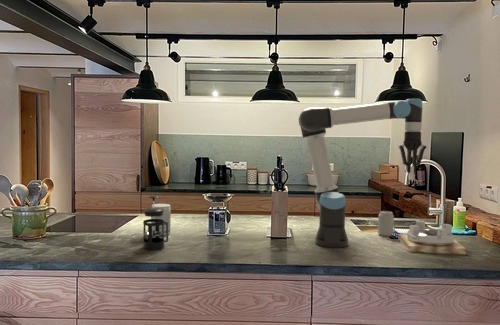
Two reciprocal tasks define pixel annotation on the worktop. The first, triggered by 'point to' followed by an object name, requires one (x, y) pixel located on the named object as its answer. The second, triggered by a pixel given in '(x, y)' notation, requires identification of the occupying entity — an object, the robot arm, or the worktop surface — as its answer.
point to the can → (385, 223)
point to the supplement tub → (163, 216)
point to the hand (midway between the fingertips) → (410, 179)
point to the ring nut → (431, 235)
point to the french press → (155, 242)
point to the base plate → (431, 247)
